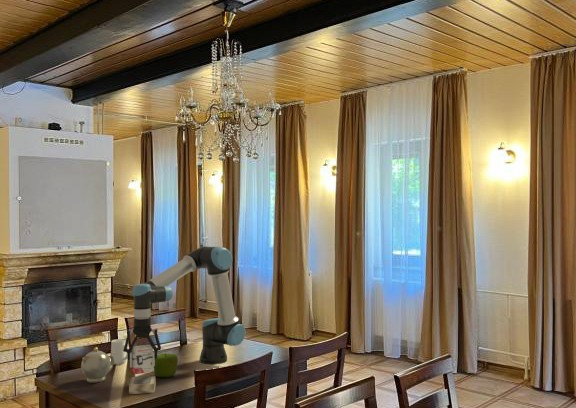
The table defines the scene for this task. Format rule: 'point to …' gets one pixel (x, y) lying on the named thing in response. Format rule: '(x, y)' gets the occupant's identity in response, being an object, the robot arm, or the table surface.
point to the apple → (165, 365)
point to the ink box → (142, 359)
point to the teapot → (96, 365)
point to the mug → (119, 351)
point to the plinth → (142, 385)
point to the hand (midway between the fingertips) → (142, 366)
